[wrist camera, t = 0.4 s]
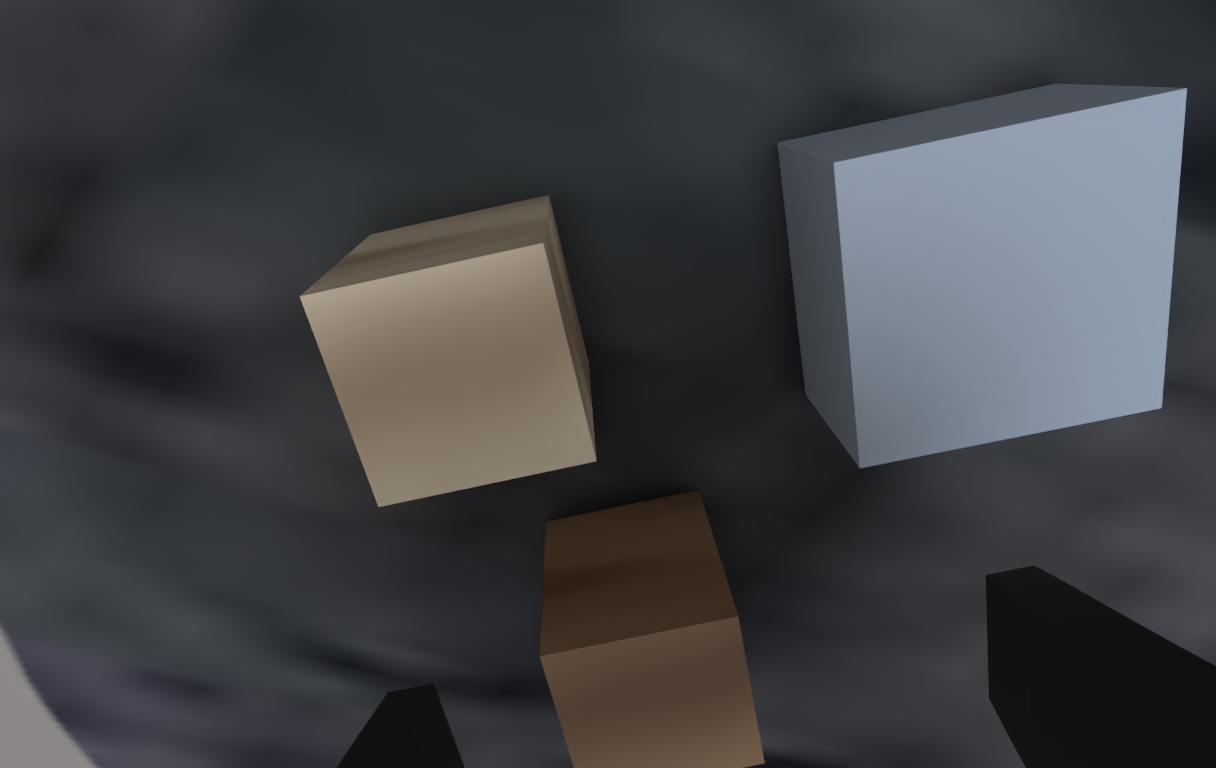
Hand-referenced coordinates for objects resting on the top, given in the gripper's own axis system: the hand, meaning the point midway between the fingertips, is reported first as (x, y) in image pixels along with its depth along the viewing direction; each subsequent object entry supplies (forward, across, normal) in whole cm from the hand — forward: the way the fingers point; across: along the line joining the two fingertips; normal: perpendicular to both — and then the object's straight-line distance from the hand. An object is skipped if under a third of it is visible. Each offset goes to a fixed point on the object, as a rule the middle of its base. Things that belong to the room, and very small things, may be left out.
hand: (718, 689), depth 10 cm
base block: (+10, -7, -2) cm, 12 cm away
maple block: (+10, +3, -3) cm, 11 cm away
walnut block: (+10, +1, +5) cm, 11 cm away
